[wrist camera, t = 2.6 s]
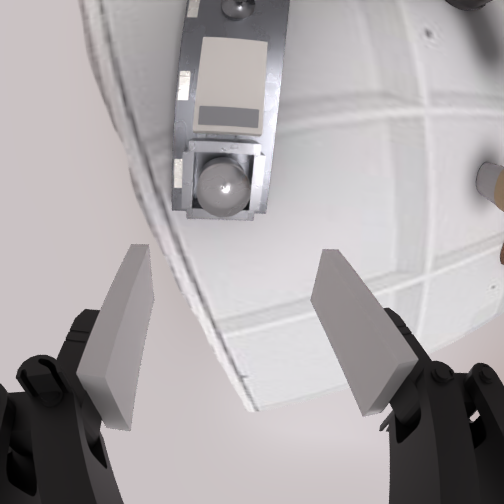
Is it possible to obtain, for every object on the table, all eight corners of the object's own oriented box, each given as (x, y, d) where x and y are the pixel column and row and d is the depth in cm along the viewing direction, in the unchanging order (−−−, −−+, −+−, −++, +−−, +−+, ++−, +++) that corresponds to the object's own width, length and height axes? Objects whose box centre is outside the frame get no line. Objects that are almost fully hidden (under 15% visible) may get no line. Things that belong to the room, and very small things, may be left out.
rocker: (203, 42, 20) (203, 35, 19) (265, 47, 21) (267, 41, 20) (193, 133, 22) (192, 130, 21) (259, 136, 23) (262, 134, 22)
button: (199, 156, 25) (197, 164, 22) (247, 158, 26) (253, 167, 22) (197, 201, 27) (195, 216, 24) (243, 203, 28) (248, 218, 24)
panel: (193, -16, 20) (190, -37, 15) (285, -8, 21) (299, -26, 17) (174, 203, 32) (168, 220, 27) (262, 206, 33) (271, 224, 28)
